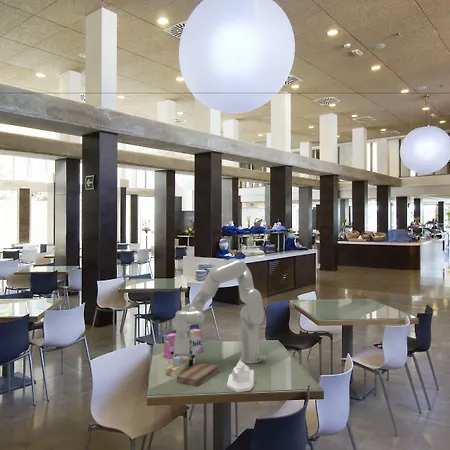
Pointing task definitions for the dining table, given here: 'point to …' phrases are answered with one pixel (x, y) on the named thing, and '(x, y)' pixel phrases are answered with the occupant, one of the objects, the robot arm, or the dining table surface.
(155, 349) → the dining table surface
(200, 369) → the dock
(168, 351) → the gum box
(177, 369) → the beige rectangular bar
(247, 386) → the white faceted mound
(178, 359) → the block
